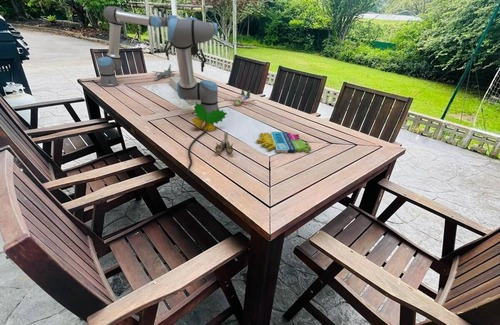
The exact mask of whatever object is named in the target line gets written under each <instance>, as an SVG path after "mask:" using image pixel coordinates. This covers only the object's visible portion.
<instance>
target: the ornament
mask: <svg viewBox="0 0 500 325" xmlns="http://www.w3.org/2000/svg"><path fill="white" fill-rule="evenodd" d="M219 110H220V108H219V109H217V110H216V111H214V110H212V112H211V113H208V112H206V109H204V106H201V104H198V103H197V102H196V105H193V112H194V113H195V118H192V119H191V122H192V123H193V125H195V127H197V128H198V129H202V130H203V131H205V130H207V131H206V132H212V131H213V132H214V131H215V130H216V126H215V124H218V123H219V122H223V119H226V115H227V114H228V113H227V112H224V110H223V109H221V110H220V111H219ZM207 113H208V115H207ZM214 123H215V124H214Z"/></svg>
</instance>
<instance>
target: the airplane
mask: <svg viewBox="0 0 500 325" xmlns="http://www.w3.org/2000/svg"><path fill="white" fill-rule="evenodd" d="M171 67H172V64H169V66H168V69H167V70H166V69H163V71H154V70H152V71H151V72H152V73H154V75H155V78H154V79H153V80H152V81H159V80H160V79H166V78H170V77H171V76H172V77H175V75H176V73H177V71H175V70H171ZM156 75H157V76H156Z"/></svg>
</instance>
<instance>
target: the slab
mask: <svg viewBox="0 0 500 325" xmlns="http://www.w3.org/2000/svg"><path fill="white" fill-rule="evenodd" d="M179 80H180V76H169V84H170V86H171V87H172V88H174V89H175V91H177V83H178V82H179ZM186 101H187V103H188V104H189V105H190V106H196V102H197V103H198V104H201V100H186Z"/></svg>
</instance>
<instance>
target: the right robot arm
mask: <svg viewBox="0 0 500 325" xmlns="http://www.w3.org/2000/svg"><path fill="white" fill-rule="evenodd" d="M217 35H218V23H217V22H214V21H213V22H212V21H203V20H199V19H198V18H196V17H191V16H190V17H189V16H188V17H186V18H178V17H177V19H173V18H172V19H170V20H169V22H168V27H167V41H169V43H170V42H172V45H173V46H172V47H173V48H174V49H175V52H176V60H177V68H178V72H179V73H178V74H179V77H180V80H179V82H178V83H177V90H176V91H177V96H178V97H179V99H180V100H185V101H187V100H201V106H204V109H206V112H208V113H211V112H212V110H214V111H216V110H217V109H219V111H221V110H220V108H219V102H218V96H219V94H218V93H219V88H218V84H217V82H215V81H213V80H209V79H201V80H200V81H197V79H196V78H195V76H194V67H193V66H194V65H193V59H192V58H193V57H192V56H196V57H197V58H198V59H199V60H200V71H201V72H202V73H204V68H205V63H207V58H206V57H205V54H204V52H203V48H199V44H202V43H207V42H209V41H211V40H212V39H213V38H214V36H217ZM199 53H200V54H199ZM200 55H201V56H200ZM208 113H207V115H208ZM207 132H208V131H207V130H203V132H201V133H200V134H199V135H198V136H196V138H194V139H193V140H192V142H191V143H190V145H188V146H189V147H188V149H187V150H188V151H187V152H188V159H189V164H188V167H187V172H186V173H187V174H190V170H191V167H192V165H193V159H192V157H191V148H192V146H193V144H194V143H195V142H196V141H197V140H198V139H199V138H201V137H202V135H204V134H205V133H207Z"/></svg>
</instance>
